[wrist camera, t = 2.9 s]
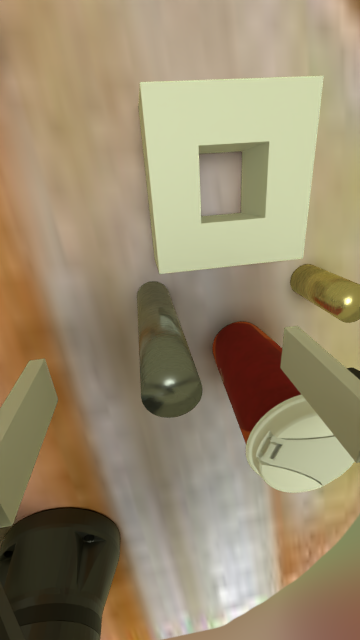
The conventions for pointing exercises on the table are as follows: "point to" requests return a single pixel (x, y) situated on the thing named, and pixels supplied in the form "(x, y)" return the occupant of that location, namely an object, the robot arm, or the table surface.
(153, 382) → the long pin
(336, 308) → the short pin
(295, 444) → the paper cup
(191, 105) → the hole block
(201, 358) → the table surface
